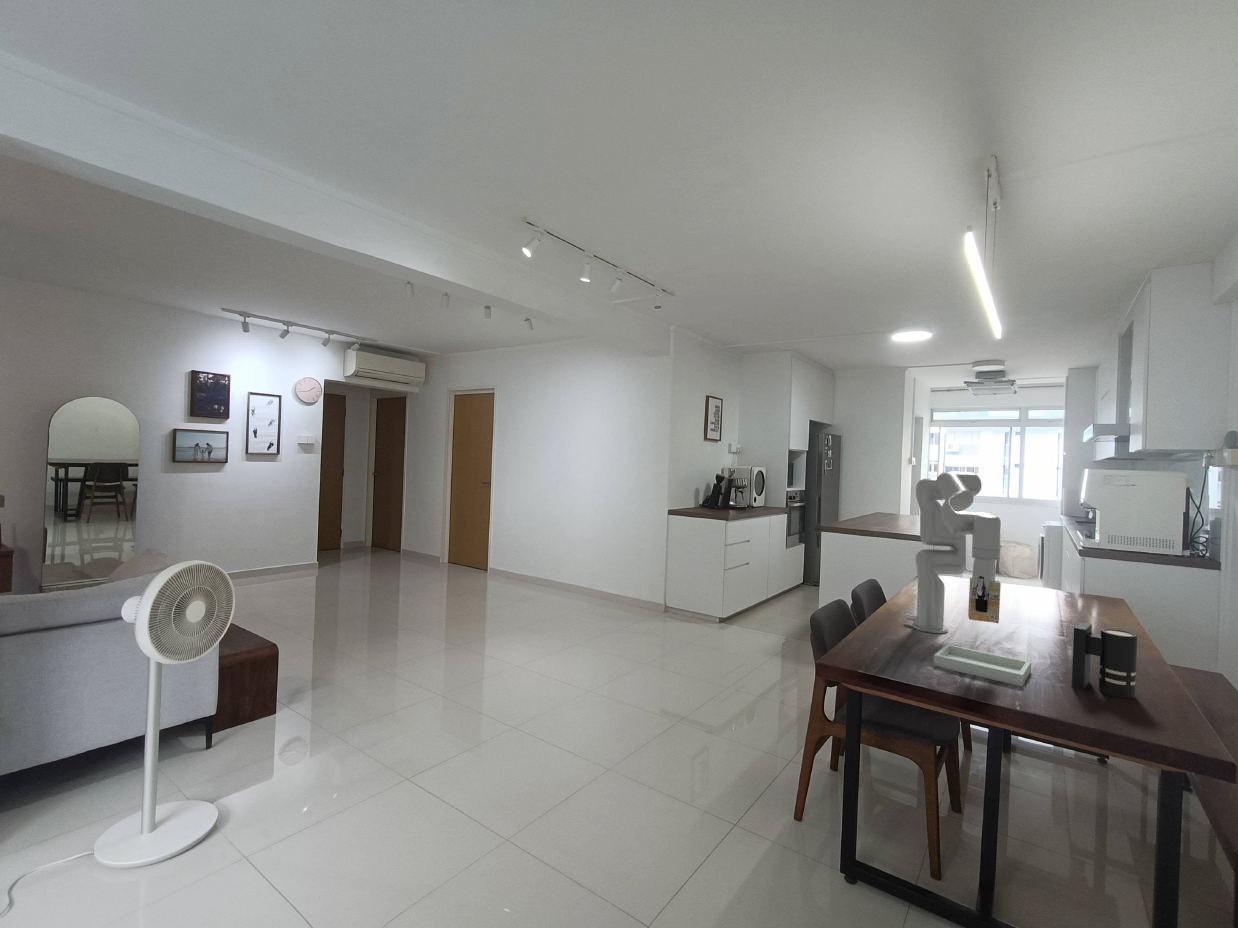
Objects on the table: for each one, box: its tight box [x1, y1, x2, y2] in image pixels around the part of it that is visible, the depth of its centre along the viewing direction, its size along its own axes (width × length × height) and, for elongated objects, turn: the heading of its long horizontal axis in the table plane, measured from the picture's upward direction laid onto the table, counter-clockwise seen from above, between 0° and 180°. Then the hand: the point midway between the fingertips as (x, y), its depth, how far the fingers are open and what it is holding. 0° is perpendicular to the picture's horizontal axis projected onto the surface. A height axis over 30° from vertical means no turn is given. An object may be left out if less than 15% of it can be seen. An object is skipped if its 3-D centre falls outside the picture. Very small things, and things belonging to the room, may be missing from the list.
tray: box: [933, 643, 1032, 687], centre depth 189 cm, size 24×16×4 cm, turn 47°
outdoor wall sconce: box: [1071, 621, 1138, 700], centre depth 173 cm, size 10×14×18 cm
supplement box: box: [967, 576, 1002, 624], centre depth 188 cm, size 8×5×13 cm, turn 62°
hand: (983, 609), depth 188 cm, fingers closed on supplement box, 5 cm apart
